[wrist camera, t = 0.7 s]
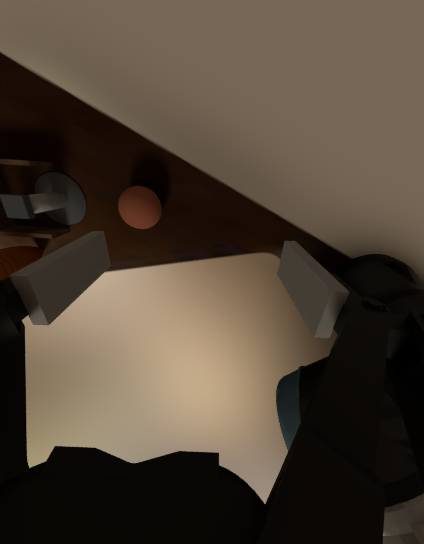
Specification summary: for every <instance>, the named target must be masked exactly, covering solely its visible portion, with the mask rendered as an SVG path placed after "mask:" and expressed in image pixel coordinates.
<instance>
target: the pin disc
mask: <svg viewBox="0 0 424 544" xmlns="http://www.w3.org/2000/svg"><path fill="white" fill-rule="evenodd" d="M51 192H62V193H63V194H65V195H66V197H67V199H68V205H67V206H66V207H64V208H59V209H54V210H50V211H45V214H46V215H48V216H49V217H50V218H51V219H53V220H54V221H56V222H58V223H61V224H66V225H71V224H75V223H78V222H80V221H81V220H82V219H83V218H84V216H85V214H86V209H87V204H86V199H85V196H84V194H83V192H82V190H81V189H80V187H79V186H78V185H77V183H76V182H74V181H73V180H72V179H71V178H69V177H68V176H66V175H64V174H61V173H58V172H47V173H44V174H42V175H41V176H40V177H39V178H38V179H37V181H36V184H35V194H41V193H51Z"/></svg>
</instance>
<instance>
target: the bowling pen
mask: <svg viewBox="0 0 424 544" xmlns="http://www.w3.org/2000/svg"><path fill="white" fill-rule="evenodd" d="M0 164H10V165H26V166H46V167H53V165H52V162H41V161H26V160H10V159H0ZM0 194H7V192H6V190H5V187H4V184H3V181H2V179H1V176H0ZM68 232H70V230H69V228H55V227H40V226H25V225H18V222H17V219H16V218H8V217H7V214H6V211H5V209H4V206H3V204H2V201H1V198H0V235H7V236H22V237H37V238H52V239H53V238H55V237H58V236H60V235H63V234H66V233H68Z"/></svg>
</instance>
